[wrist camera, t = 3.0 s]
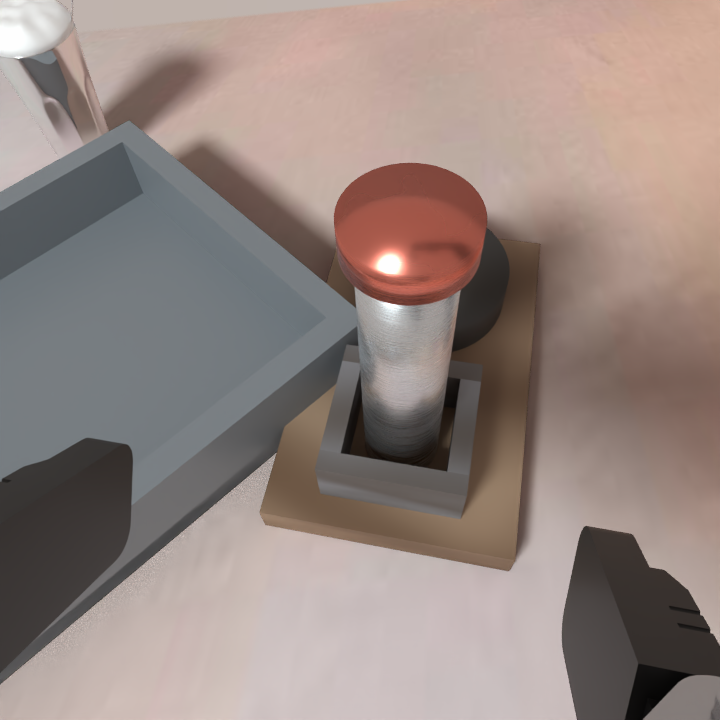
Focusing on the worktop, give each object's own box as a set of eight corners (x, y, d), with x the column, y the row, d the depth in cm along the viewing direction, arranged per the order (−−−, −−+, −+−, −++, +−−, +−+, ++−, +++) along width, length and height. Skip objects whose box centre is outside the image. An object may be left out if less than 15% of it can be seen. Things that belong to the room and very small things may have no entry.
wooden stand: (346, 239, 36) (341, 175, 32) (534, 263, 35) (552, 199, 31) (265, 524, 28) (245, 483, 24) (508, 571, 26) (529, 535, 22)
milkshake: (140, 170, 39) (72, 3, 31) (48, 186, 39) (-46, 21, 31) (137, 121, 42) (74, -46, 33) (50, 136, 41) (-36, -30, 33)
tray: (154, 185, 39) (129, 120, 35) (369, 373, 31) (367, 317, 28) (-195, 397, 32) (-274, 344, 28) (-23, 703, 24) (-99, 689, 21)
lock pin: (400, 386, 29) (408, 142, 18) (466, 443, 28) (519, 214, 16) (337, 442, 28) (302, 216, 17) (401, 504, 26) (411, 301, 15)
